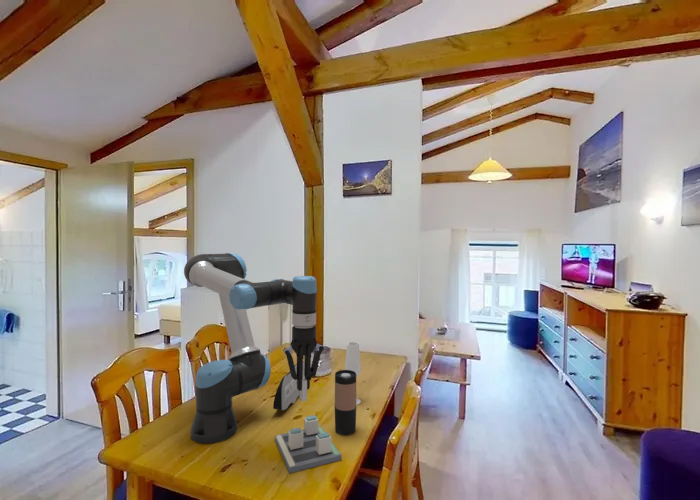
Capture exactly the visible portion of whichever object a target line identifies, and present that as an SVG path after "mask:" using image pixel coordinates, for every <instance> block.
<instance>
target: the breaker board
mask: <svg viewBox="0 0 700 500" xmlns="http://www.w3.org/2000/svg"><path fill="white" fill-rule="evenodd" d="M301 430H302V431H303V447H301V448H297V449H293V450H291V449H290V447H289V445H288V432H285V433H280V434H276V435H274V441H275V443H276V446H277V448H278V451H279V453H280V455H281V457H282V459H283V462H284V464H285V467H286V469H287V471H288V473H289V474H292V473H296V472H300V471H304V470H308V469H309V470H310V469H311V468H315V467H320V466H323V465H324V466H325V465H328V464H331V463H336V462H339V461H342V453H341V452H340V451H339V449H338V448H337V447H336V445H335V444H334V442H333V440H331V452H329V453H325V454H321V455H319V454H318V453H317V451H316V436H317V435H318V434H320V433H325V432H326V431H325V430H324V429H323V427H322V426H321V425H318V433H316V434H312V435H306V433H305V432H304V429H301Z"/></svg>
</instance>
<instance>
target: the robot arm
mask: <svg viewBox="0 0 700 500" xmlns="http://www.w3.org/2000/svg"><path fill="white" fill-rule="evenodd" d="M247 271H248V270H247V265H246V262H245V260H244V259H243V257H242V256H240V255H239V254H238V253H230V252H229V253H228V252H224V253H201V254H197V255H195V256H193V257H191V258H190V259H189V260H188V261H186V263H185V265H184V269H183V274H184V277H185V280H186V281H187V282H188V283H190V284H191V285H192V286H194V287H197V288H203V287H204V288H206V289H209V290H210V291H212V292H215V293H216V294H218V296H219V301H220V306H221V310H222V314H223V318H224V324H225V328H226V332H227V333H226V334H227V336H228V343H229V346H230V350H231V354H230V356H229V357H228V359H219V360H212V361H210V362H207V363H205V364H202V366H200V367H199V368H198V369H197V371H196V374H195V376H196V377H195V400H196V401H195V415H194V418H193V421H192V423H191V427H190V439H191V440H192V441H194V442H196V443H199V444H215V443H219V442H222V441H225V440H227V439H230V438H231V437H232V436H234V435H235V434H236V432H237V430H238V420H237V418H236V414H235V411H234V409H233V397H237V396H239V395H242V394H245V393H248V392H250V391H254V390H258V389H259V388H261V387H264V386H265V385H267V383H268V382H269V379H270V377H271V372H272V369H271V368H272V367H271V362H270V359H269V358H268V356H267V355H266V354H264V353H262V352H261V349H260V348H259V347H257V346H255V342H254V337H253V332H252V330H251V329H252V328H251V325H250V324H251V323H250V320H249V316H248V312H247V310H249V309H255V308H261V307H266V306H272V305H273V306H274V305H279V304H286V305H287V304H288V305H292V306H291V307H292V309H291V311H292V315H291V316H292V317H291V324H292V325H293V326H292V327H291V341H290V344H289V346H287V348H284V349H282V351H283V353H284V354H285V356H286V359H287V364H288V367H289V368H288V369H289V372H290V373H291V377H292V378H293V379H294V380H297V389H298V390H299V391H300V395H299V399H300V401H301V402H302V403H303V402H307V400H308V390H309V389H310V388H311V380H312V378H313V377H314V378H315V377H316V376H317V372H318V367H319V362H320V358H321V356H322V355H321V353H323V352H324V348H325V347H324V346H323V345H322V344H319V343H318V340H317V326H316V324H317V294H318V293H317V292H318V289H317V279H316V277H315V276H312V275H298V276H294V277H293V278H292V280H287V279H284V278H281V279H279V278H278V279H277V278H275V279H272V280H270V281H262V282H253V281H249V280H246V276H247ZM293 351H294V354H295V355H296V364H297V375H296V371H295V366H294V365H295V363H294V358H293V356H292V354H293ZM313 351H314V353H313ZM312 353H313V357H312ZM311 358H312V359H311ZM303 361H304V376H305V378H303Z"/></svg>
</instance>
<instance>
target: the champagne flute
mask: <svg viewBox="0 0 700 500" xmlns="http://www.w3.org/2000/svg"><path fill="white" fill-rule="evenodd" d="M346 345H347V346H346V353H345V355H346V356H345V365H344V370H351V371H354V372H355V373H356V378H357V377H358V376H359V375H360V374H361V372H362V364H361V354H360V351H361V350H360V343H359V342H357V341H356V342H355V341H352V342H351V341H350V342H347V344H346ZM361 402H362V401H361V399H360V398H358V397H356V406H357V405H359V404H360V403H361Z"/></svg>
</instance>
